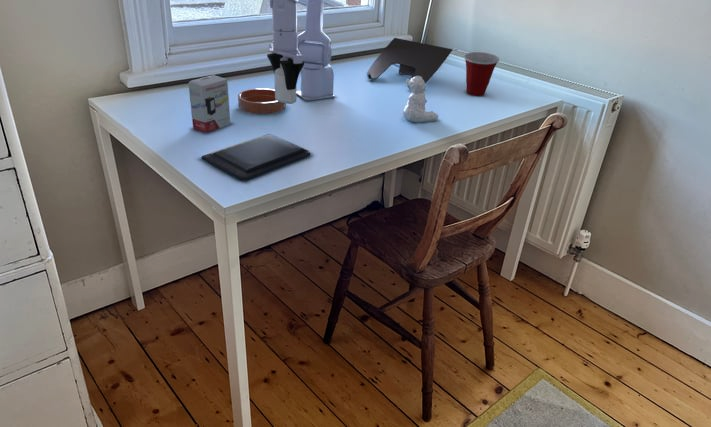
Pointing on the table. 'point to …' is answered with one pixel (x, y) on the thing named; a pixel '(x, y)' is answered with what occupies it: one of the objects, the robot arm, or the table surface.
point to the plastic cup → (479, 71)
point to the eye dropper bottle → (283, 87)
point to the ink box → (209, 103)
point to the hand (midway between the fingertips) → (285, 85)
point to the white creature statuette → (417, 102)
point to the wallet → (256, 157)
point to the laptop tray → (410, 59)
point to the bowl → (259, 101)
